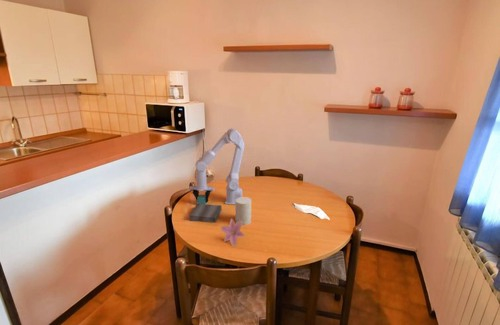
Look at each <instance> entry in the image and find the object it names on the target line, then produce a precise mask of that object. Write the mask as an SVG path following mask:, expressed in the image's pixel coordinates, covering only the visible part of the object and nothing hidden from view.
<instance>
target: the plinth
mask: <svg viewBox="0 0 500 325" xmlns="http://www.w3.org/2000/svg"><path fill="white" fill-rule="evenodd" d="M222 211H223V210H222V204H221V205H220V204H219V205H218V204H208V203H207V204H197V203H196V205H195V206H194V208H193V209H192V211H191V212H190V214H189V215H188V216H189V218H188V219H189V221H191V222H202V223H203V222H204V223H215V224H216V222H217V220H218V219H219V216H220V214H221V212H222Z"/></svg>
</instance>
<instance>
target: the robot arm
mask: <svg viewBox="0 0 500 325" xmlns="http://www.w3.org/2000/svg"><path fill="white" fill-rule="evenodd" d="M242 136H243V135H242V134H240V132H239V131H238V130H237V129H236V128H233V127H231V128H229V129H227V131H226V132H224V133H223V135H222V136H221V137H220V139H219V140H218V141H217V142H216V143H215V144H214V146H213V147H212V148H211V149H207V150H205V151H204V152H203V153H204V154H203V155H202V156H201V157H199V159H197V160H196V162H195V169H196V170H195V171H196V173H195V178H196V185H190V186H189V187H188V190H189V191H192V194H193V196H194V197H195V198H194V199H195V201H196V202H197V197H198V196H199V195H200V192H204V191H205V192H204V195H205V197H206V203H207V204H208V201H209V197H210V194H211V192H212V193H214V192H215V187H212V186H208V184H207V183H208V181H207V171H206V170H207V166H209V164H210V163H211V162H212V161H214V159H215V158H216V154H217V153H218V151H220V150H221V149H222V147H224V146H225V145H226V144H231V143H233V144H234V145H235V149H234V153H233V158H232V162H231V163H232V164H231V167H230V171H229V173H228V175H227V177H226V179H225V182H226V183H227V186H226V187H225V188H226V189H225V190H226V191H225V192H226V195H225V196H226V198H225V199H226V200H225V202H224V204H225V205H236V199H237V198H239V197H243V188H241V187H239V186H240V183H239V179H240V177H239V176H240V175H239V174H240V169H241V164H242V160H243V157H244V156H243V155H244V152H245V151H244V150H245V144H246V143H245V142H244V140H243V137H242Z"/></svg>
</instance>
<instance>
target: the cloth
mask: <svg viewBox="0 0 500 325" xmlns="http://www.w3.org/2000/svg"><path fill="white" fill-rule="evenodd" d="M291 205H294V208H295V209H297V210H298V211H300V212H303V213H305V214H312V215H313V216H316V217H318V218H319V219H321V220H323V219H324V220H325V219H327V220H329V221H330V217H329V216H328V215H327V214H326V213H325V211H324V210H322V209H321V208H320V207H317V206H314V205H313V206H312V205H305V204H298V203H295V202H292V203H291Z"/></svg>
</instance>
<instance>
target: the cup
mask: <svg viewBox="0 0 500 325" xmlns="http://www.w3.org/2000/svg"><path fill="white" fill-rule="evenodd" d="M240 221H243V224H242V226H247V225H249V224H251V223H252V198H250V197H248V196H242V197H239V198H237V199H236V204H235V224H236V223H237V222H240Z"/></svg>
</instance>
